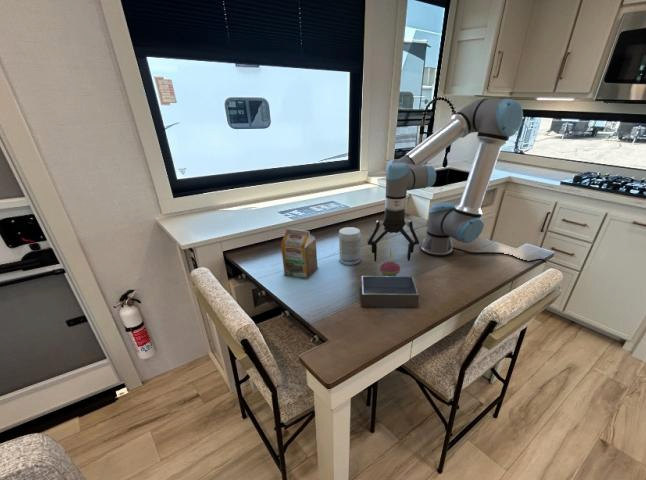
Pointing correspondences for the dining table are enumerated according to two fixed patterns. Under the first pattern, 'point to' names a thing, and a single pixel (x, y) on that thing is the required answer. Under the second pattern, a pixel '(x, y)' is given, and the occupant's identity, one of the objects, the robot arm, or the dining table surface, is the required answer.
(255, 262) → the dining table surface
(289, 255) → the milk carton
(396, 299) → the open rectangular bin
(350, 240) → the supplement tub
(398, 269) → the cupcake
